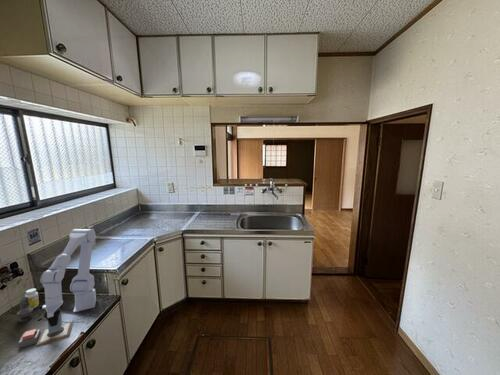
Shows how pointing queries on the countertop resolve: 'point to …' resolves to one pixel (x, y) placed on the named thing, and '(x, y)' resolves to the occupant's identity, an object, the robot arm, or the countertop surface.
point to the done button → (29, 334)
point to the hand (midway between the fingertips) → (55, 322)
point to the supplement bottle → (32, 297)
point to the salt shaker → (25, 310)
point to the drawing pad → (55, 334)
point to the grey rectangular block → (58, 326)
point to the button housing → (29, 340)
